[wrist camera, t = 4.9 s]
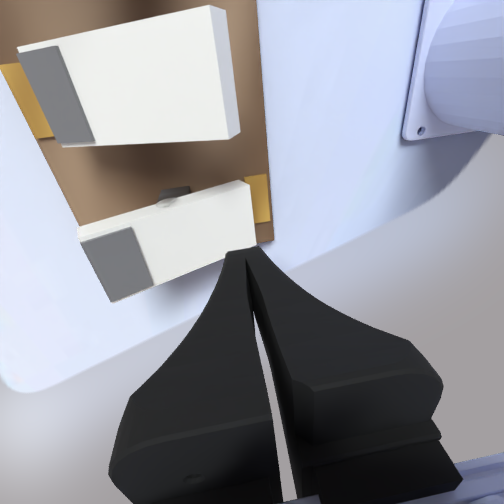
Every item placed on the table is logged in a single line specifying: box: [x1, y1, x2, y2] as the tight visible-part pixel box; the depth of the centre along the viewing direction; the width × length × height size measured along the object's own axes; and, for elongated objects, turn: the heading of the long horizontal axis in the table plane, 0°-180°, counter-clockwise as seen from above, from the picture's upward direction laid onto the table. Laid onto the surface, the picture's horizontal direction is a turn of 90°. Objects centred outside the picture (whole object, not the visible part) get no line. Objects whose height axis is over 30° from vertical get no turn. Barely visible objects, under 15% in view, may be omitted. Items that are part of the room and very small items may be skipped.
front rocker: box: [16, 5, 240, 147], centre depth 11 cm, size 8×4×2 cm, turn 97°
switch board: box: [0, 0, 274, 243], centre depth 14 cm, size 12×13×3 cm
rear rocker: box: [77, 180, 257, 304], centre depth 14 cm, size 8×4×2 cm, turn 96°
